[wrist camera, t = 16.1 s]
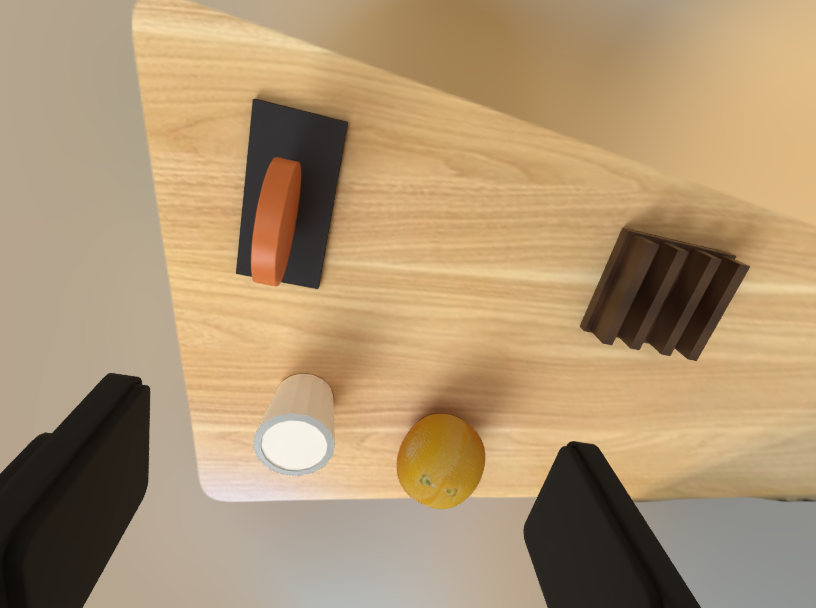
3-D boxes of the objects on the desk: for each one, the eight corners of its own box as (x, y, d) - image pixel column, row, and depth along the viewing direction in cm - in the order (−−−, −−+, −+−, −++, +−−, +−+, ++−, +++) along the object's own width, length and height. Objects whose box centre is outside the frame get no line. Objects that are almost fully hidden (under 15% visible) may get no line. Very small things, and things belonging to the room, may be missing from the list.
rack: (622, 227, 41) (643, 239, 38) (729, 252, 43) (757, 265, 40) (579, 326, 45) (595, 344, 42) (678, 345, 47) (701, 364, 43)
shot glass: (319, 357, 44) (311, 402, 38) (351, 410, 47) (348, 460, 41) (255, 383, 45) (236, 432, 38) (290, 434, 48) (278, 487, 41)
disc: (285, 145, 35) (258, 174, 27) (306, 150, 35) (285, 180, 27) (272, 253, 39) (245, 305, 31) (291, 257, 39) (270, 309, 32)
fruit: (414, 390, 46) (422, 445, 39) (486, 409, 48) (507, 465, 41) (385, 455, 50) (388, 518, 42) (454, 471, 51) (468, 533, 44)
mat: (254, 98, 34) (252, 98, 34) (347, 121, 36) (347, 122, 35) (237, 271, 40) (235, 273, 39) (318, 286, 41) (318, 289, 40)
